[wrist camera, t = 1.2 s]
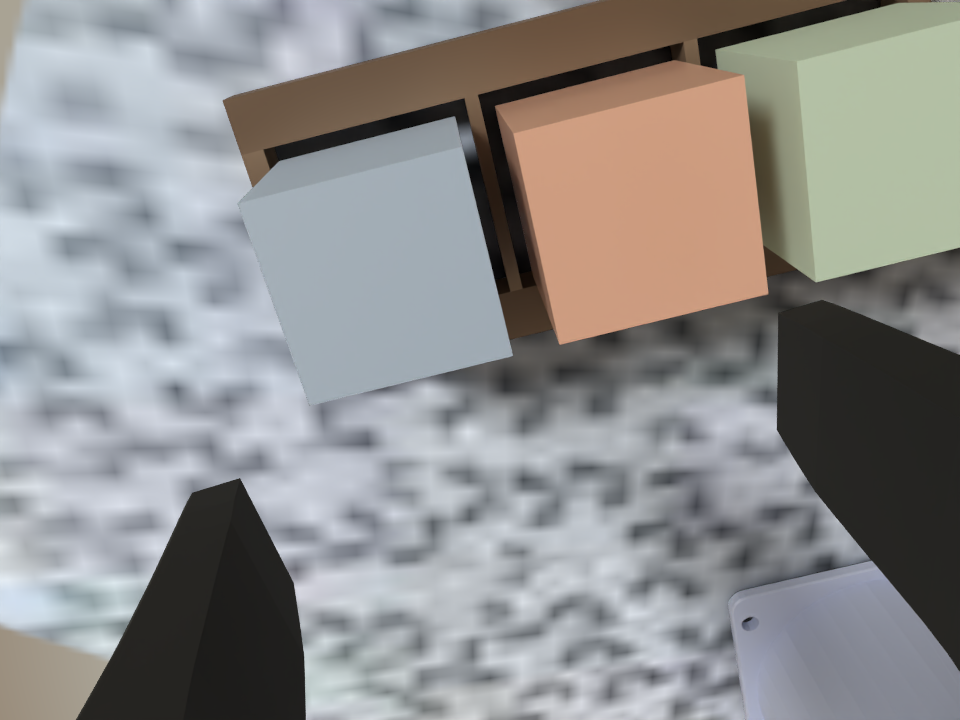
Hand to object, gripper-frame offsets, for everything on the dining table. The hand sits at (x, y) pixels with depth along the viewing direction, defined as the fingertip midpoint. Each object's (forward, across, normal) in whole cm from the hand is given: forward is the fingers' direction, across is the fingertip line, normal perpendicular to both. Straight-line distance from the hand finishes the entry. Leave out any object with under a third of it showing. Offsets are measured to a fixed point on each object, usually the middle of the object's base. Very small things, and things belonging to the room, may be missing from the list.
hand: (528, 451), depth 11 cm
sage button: (+8, -9, +1) cm, 12 cm away
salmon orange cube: (+9, -4, +1) cm, 10 cm away
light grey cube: (+10, +1, +1) cm, 10 cm away
